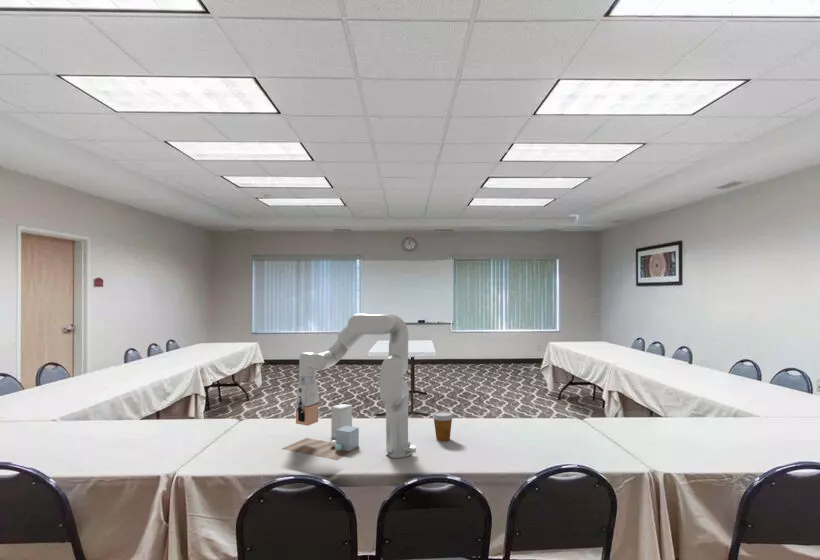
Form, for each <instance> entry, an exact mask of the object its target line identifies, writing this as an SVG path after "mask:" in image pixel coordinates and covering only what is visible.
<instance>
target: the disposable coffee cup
mask: <svg viewBox="0 0 820 560" xmlns="http://www.w3.org/2000/svg"><path fill="white" fill-rule="evenodd" d="M453 417H454V415H453V414H452V412H450V411H442V410H439V411H436V412H435V411H434V412H433V415H432V418H433V421H434V422H433V423H434V431H435V438H436V439H437V440H436V441H438V440H439V442H443V441H445V442H449V441H450V440H451V439H450V438H451V430H452V422H453V421H452V420H453ZM448 440H449V441H448Z"/></svg>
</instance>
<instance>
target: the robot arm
mask: <svg viewBox="0 0 820 560" xmlns="http://www.w3.org/2000/svg"><path fill="white" fill-rule="evenodd" d="M388 334H389V341H388V356H387V357H386V358H385V359H383V361H382V363H381V367H380V374H379V375H380V376H379V379H380V381H379V397H380V399H381V402H382V403H383V404H384V405H385V440H386V441H385V444H386V445H385V450H386V452H387V454H386V455H385V457H387V458H391V459H403V458H406V457H409V456H411V454H414V453H415V454H416V453H417V447H416V446H415V445H411V441H409V399H410V398H409V397H410V390H409V389H410V388H409V385H408V383H407V382H406V381H405V380H404V379H403V378H404V374H405V373H406V372H407V371H408V368H409V329H408V326H407V324H406V322H405V321H404V320H403V319H402V318H401V317H400V316H398V315H396V314H393V313H384V314H368V313H355V314H353V315H352V316H350V317H349V319H348V321H347V325H345V327H344V328H342V330H340V331H339V332H338V334H337V339H336V341H335V342H334V344H333V345H331V346H330V347H329V348H328V349H327V350H326V351H323V352H319V353H316V352H313V351H306V352H305V351H303V352H301V353H300V354H299V366H298V367H299V371H298V375H299V376H298V382H299V383H298V386H297V393H296V401H295V403H294V405H293V407H294V408H295V411H296V410H297V412H298V421H302V422H304V419H305V412H304V407H307V406H310V405H313V404H318V405H319V402H320V396H319V387H318V385H319V384H318V381H317V371H324V370H326V369H328V368H331V367H333V366H335V365H336V364H337V363H338V362H340V360H341V359H343V358H344V357H345V356H346V354H347V353H348V352H349V351H350V350H351V349H352V347H353V346H355V344H356V343H358V341H359V340H361V339H362V338H363V337H364V336H365V335H374V336H375V335H377V336H378V335H379V336H382V335H383V336H384V335H388ZM301 407H302V409H301Z"/></svg>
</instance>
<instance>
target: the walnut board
mask: <svg viewBox="0 0 820 560" xmlns="http://www.w3.org/2000/svg"><path fill="white" fill-rule="evenodd" d="M330 443H331V441H327V440H326V441H325V440H319V439H314V438H308V437H305V438H302V439H301V440H299V441H296V442H294V443H292V444H289V445H288V446H285V447H282V448H281V450H286V451H289V452H290V451H291V452H295V453H301V454H306V455H311V456H315V457H321V458H325V459H329V460H334V461H339V460H340V459H342V458H344V457H345V456H348V455H349V454H351V453H353V452H354V451H356V450H359V449H360V447H359V446H358V447H356V448H354V449H352V450H351V451H346V450H340V451H336V450H335V447H331V445H330Z"/></svg>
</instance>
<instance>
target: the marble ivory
mask: <svg viewBox="0 0 820 560" xmlns="http://www.w3.org/2000/svg"><path fill="white" fill-rule="evenodd" d="M330 442H331V443H330V445H331V447H335V446H336V439H332V440H331V441H330Z"/></svg>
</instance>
